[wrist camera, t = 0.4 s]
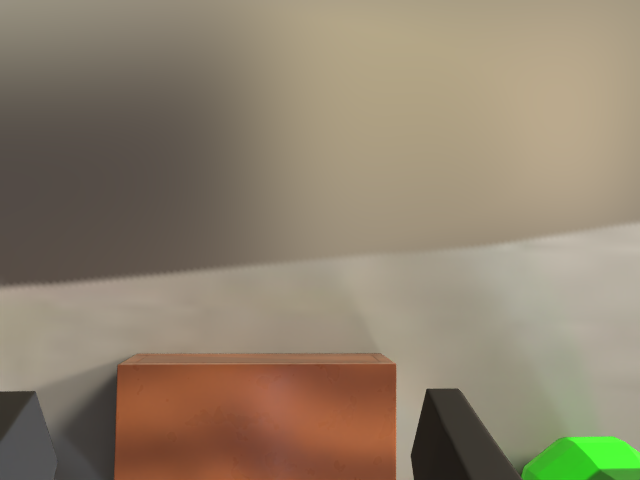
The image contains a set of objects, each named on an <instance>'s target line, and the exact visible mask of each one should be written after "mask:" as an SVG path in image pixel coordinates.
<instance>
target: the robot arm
mask: <svg viewBox="0 0 640 480" xmlns="http://www.w3.org/2000/svg"><path fill="white" fill-rule="evenodd" d="M411 461H412V468H413V475H414V480H523V479H522V478H521V476H520V475H519V474H518V472H517V471H516V470H515V468H514V467H513V466H512V464H511V463H510V462H509V460H508V459H507V457H506V456H505V455H504V453H503V452H502V450H501V449H500V448H499V446H498V445H497V443H496V442H495V441H494V439H493V438H492V436H491V435H490V433H489V432H488V431H487V429H486V428H485V426H484V425H483V423H482V422H481V420H480V419H479V417H478V416H477V414H476V413H475V411H474V410H473V408H472V407H471V405H470V404H469V402H468V401H467V399H466V398H465V396H464V395H463V393H462V392H461V391H460V390H459V389H427V390H426V394H425V398H424V402H423V407H422V411H421V415H420V419H419V423H418V427H417V432H416V436H415V440H414V444H413V448H412V453H411ZM57 463H58V460H57V457H56V454H55V451H54V448H53V445H52V441H51V438H50V435H49V432H48V429H47V426H46V423H45V420H44V417H43V413H42V410H41V407H40V404H39V401H38V398H37V395H36V392H35V391H16V392H0V480H53V479H54V475H55V471H56V467H57Z"/></svg>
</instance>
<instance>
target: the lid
mask: <svg viewBox="0 0 640 480" xmlns="http://www.w3.org/2000/svg"><path fill="white" fill-rule="evenodd" d="M114 480H396V364H395V363H394V362H380V363H120V364H118V366H117V397H116V428H115V459H114Z"/></svg>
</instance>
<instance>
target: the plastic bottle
mask: <svg viewBox="0 0 640 480" xmlns="http://www.w3.org/2000/svg"><path fill="white" fill-rule="evenodd" d="M521 478H522V479H523V480H640V453H639V452H638V451H636V450H635V449H634V448H632V447H631V446H630V445H628V444H627V443H626V442H624V441H622V440H619V439H617V438H615V437H565V438H561V439H558V440H556V441H555V442H554V443H553V444H551V445H550V446H549V447H548V448H546V449H545V450H544V451H543V452H541V453H540V454H539V455H538V456H536V457H535V458H534V459H533V460H531V461H530V462H529V463H528V464H526V465H525V466H524V468H523V472H522V475H521Z"/></svg>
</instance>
